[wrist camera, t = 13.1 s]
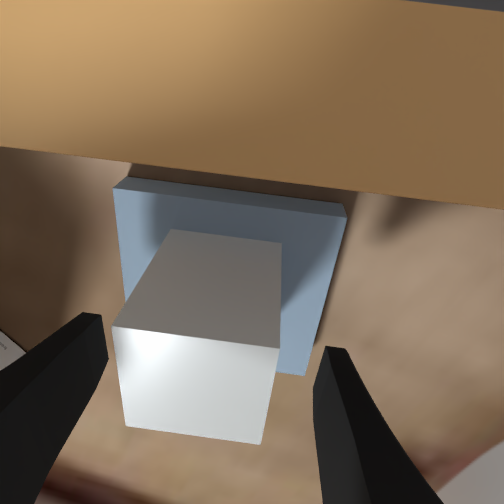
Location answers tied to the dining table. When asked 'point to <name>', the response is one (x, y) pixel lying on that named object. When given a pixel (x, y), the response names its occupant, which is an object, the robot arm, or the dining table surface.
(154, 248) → the pad
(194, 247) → the block
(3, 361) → the ink box
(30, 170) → the dining table surface
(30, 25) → the bar
